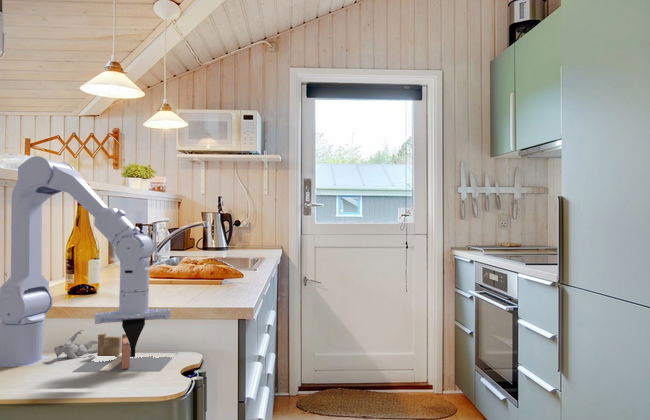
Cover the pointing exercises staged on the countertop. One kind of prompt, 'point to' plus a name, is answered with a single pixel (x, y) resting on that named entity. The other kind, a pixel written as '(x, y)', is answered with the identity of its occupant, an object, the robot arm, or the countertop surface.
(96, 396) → the countertop surface
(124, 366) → the fence panel
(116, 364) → the board
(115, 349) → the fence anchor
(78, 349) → the soldier figure
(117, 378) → the countertop surface
